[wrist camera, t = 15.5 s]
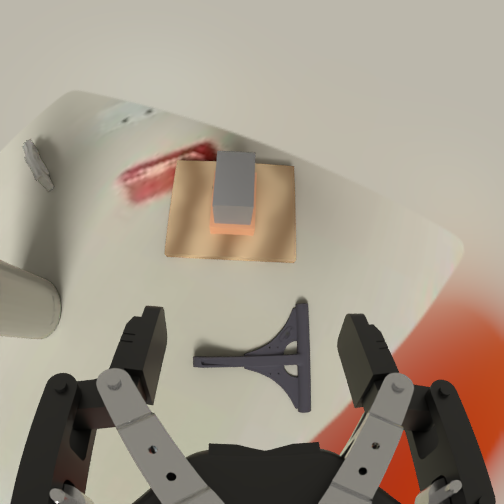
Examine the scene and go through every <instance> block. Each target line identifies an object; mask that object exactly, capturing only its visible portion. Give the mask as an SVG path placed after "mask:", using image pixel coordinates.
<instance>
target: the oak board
mask: <svg viewBox="0 0 504 504" xmlns="http://www.w3.org/2000/svg"><path fill="white" fill-rule="evenodd" d="M216 162H217V161H182V160H177V165H176V171H175V177H174V184H173V191H172V197H171V205H170V212H169V220H168V228H167V236H166V245H165V255H166V256H167V257H182V258H202V259H222V260H243V261H264V262H286V263H294V262H295V260H296V220H295V179H294V166H284V165H271V164H257V163H255V173H257V184H256V215H255V231H254V236H252V235H233V234H213V233H210V227H209V225H210V214H211V202H212V192H213V181H214V171H215V170H216Z"/></svg>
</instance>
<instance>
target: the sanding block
mask: <svg viewBox="0 0 504 504" xmlns="http://www.w3.org/2000/svg"><path fill="white" fill-rule="evenodd" d="M256 184H257V173H255V153H252V152H234V151H218V152H217V162H216V170H215V171H214V181H213V192H212V202H211V214H210V225H209V227H210V233H213V234H233V235H252V236H254V231H255V215H256Z"/></svg>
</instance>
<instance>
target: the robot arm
mask: <svg viewBox="0 0 504 504" xmlns="http://www.w3.org/2000/svg"><path fill="white" fill-rule="evenodd" d="M60 314H61V303H60V297H59V294H58V292H57V290H56V288H55V287H54V285H53V284H52V283H51V282H49V281H48V280H46V279H44V278H41V277H39V276H36V275H34V274H32V273H30V272H27V271H25V270H22V269H20V268H18V267H15V266H13V265H11V264H8V263H6V262H4V261H2V260H0V336H5V337H16V338H28V339H43V338H46V337H48V336H49V335H51V334H52V332H53V331H54V330H55V328H56V327H57V325H58V322H59V319H60ZM166 345H167V329H166V322H165V315H164V309H163V307H157V306H146V307H145V309H144V311H143V314H142V317H136V316H134V317H133V318H132V319H131V320H130V321H129V322H128V323H127V324H126V326H125V329H124V331H123V334H122V336H121V339H120V342H119V344H118V347H117V349H116V352H115V355H114V357H113V360H112V363H111V366H110V368H109V369H108V370H105V371H104V372H102V373H101V374H100V375H99V377H98V378H97V379H94V380H86V381H76V380H75V378H74V377H73V376H72V375H70V374H67V373H59V374H56V375H54V376H52V377H51V378H50V379H49V380H48V382H47V384H46V386H45V389H44V392H43V394H42V397H41V400H40V402H39V405H38V408H37V411H36V414H35V416H34V419H33V422H32V425H31V428H30V431H29V435H28V438H27V441H26V444H25V448H24V451H23V455H22V458H21V462H20V465H19V469H18V473H17V477H16V481H15V486H14V490H13V495H12V499H11V504H94V503H93V501H92V500H91V499H90V498H89V497H87V496H86V495H85V490H86V484H87V478H88V472H89V466H90V461H91V455H92V450H93V445H94V440H95V436H96V431H97V429H100V428H110V427H116V429H117V431H118V433H119V435H120V436H121V438H122V440H123V442H124V444H125V446H126V447H127V449H128V451H129V453H130V454H131V456H132V458H133V460H134V461H135V463H136V465H137V466H138V468H139V469H140V471H141V473H142V474H143V476H144V477H145V479H146V481H147V482H148V484H149V485H150V487H151V488H150V489H149V490H148V491H147V492H145V493H144V494H143V495H142V496H141V497H140V498H138V499H137V500H136V501H135V502H134V503H132V504H401V503H400V502H398V501H397V500H396V499H394V498H393V497H391V496H390V495H389V494H388V493H386V492H385V491H384V490H383V489H381V488H380V487H379V484H380V482H381V480H382V478H383V476H384V474H385V472H386V470H387V468H388V465H389V463H390V461H391V459H392V456H393V454H394V452H395V449H396V447H397V445H398V442H399V440H400V437H401V435H402V432H403V430H405V432H406V435H407V439H408V443H409V446H410V451H411V455H412V458H413V462H414V466H415V470H416V475H417V479H418V483H419V488H420V493H419V494H418V495H417V497H416V499H415V504H495V502H496V501H495V495H494V492H493V488H492V485H491V481H490V478H489V475H488V472H487V469H486V466H485V463H484V460H483V457H482V454H481V451H480V448H479V445H478V443H477V440H476V437H475V435H474V432H473V430H472V427H471V424H470V422H469V419H468V417H467V414H466V412H465V409H464V407H463V405H462V402H461V400H460V398H459V396H458V393H457V391H456V389H455V387H454V386H453V385H452V384H451V383H449V382H448V381H445V380H437V381H435V382H433V383H432V385H431V386H430V387H425V386H418V385H414V384H413V383H412V381H411V380H410V379H409V378H408V377H407V376H406V375H404V374H400V373H399V371H398V369H397V366H396V364H395V362H394V360H393V357H392V355H391V353H390V351H389V349H388V346H387V344H386V342H385V340H384V338H383V335H382V333H381V332H380V331H379V330H378V329H377V328H376V327H375V326H374V325H369V324H368V322H367V319H366V317H365V315H364V314H347V315H346V316H345V319H344V322H343V325H342V328H341V331H340V334H339V337H338V343H337V347H338V353H339V356H340V359H341V362H342V366H343V369H344V372H345V376H346V379H347V383H348V386H349V390H350V393H351V397H352V400H353V404H354V407H355V408H358V407H364V411H365V412H364V414H363V415H362V417H361V419H360V421H359V423H358V425H357V427H356V428H355V430H354V432H353V434H352V436H351V437H350V439H349V441H348V443H347V444H346V446H345V448H344V449H343V451H342V452H341V454H340V455H338V454H336V453H333V452H331V451H328V450H324V449H320V447H319V442H313V443H299V444H291V445H287V446H283V447H279V448H276V449H272V450H267V451H263V450H258V449H253V448H249V447H244V446H240V445H233V444H211V443H209V450H205V451H201V452H197V453H194V454H192V455H190V456H188V457H186V458H185V456H184V455H183V454H182V452H181V451H180V450H179V448H178V447H177V445H176V444H175V443H174V441H173V440H172V438H171V437H170V435H169V434H168V433H167V431H166V430H165V428H164V427H163V425H162V424H161V422H160V421H159V419H158V418H157V416H156V415H155V414H154V413H152V412H151V411H150V409H149V407H148V406H147V404H148V405H153V404H154V399H155V394H156V389H157V385H158V380H159V376H160V371H161V367H162V362H163V358H164V354H165V350H166Z"/></svg>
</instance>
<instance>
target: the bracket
mask: <svg viewBox="0 0 504 504" xmlns="http://www.w3.org/2000/svg"><path fill="white" fill-rule="evenodd" d="M293 341H297V353H296V354H292V355H284V350H285V348H286V346H287V345H288V344H289V343H291V342H293ZM277 346H278V348H277ZM269 347H270V348H269ZM284 365H297V366H298V377H292V376H290V375H288V374H287V373H286V371H285V369H284ZM193 367H201V368H209V367H244V368H245V369H248V370H251V371H255V372H258V373H261V374H263V375H265V376H267V377H269V378H271V379H272V380H274V381H275V382H276V383H277V384H279V385H280V386H281V387H282V388H283V389H284V391H285V392H286V393H287V394H288V396H289V397H290V399H291V401H292V403H293V404H294V406H295V408H296V409H297V408H298V412H302V413H305V412H310V411H311V379H310V340H309V314H308V304H296V308H293V310H292V312H291V315H290V317H289V319H288V321H287V323H286V325H285V326H284V328H283V329H282V331H281V332H280V333H279V334H278V335H277V336H276V337H275V338H274V339H273V340H272V341H271V342H270V343H268V344H267V345H265V346H263V347H262V348H260V349H258V350H255V351H252V352H249V353H246V354H244V356H242V357H198V356H195V357H193ZM270 373H271V374H270ZM278 373H279V374H278Z"/></svg>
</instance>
